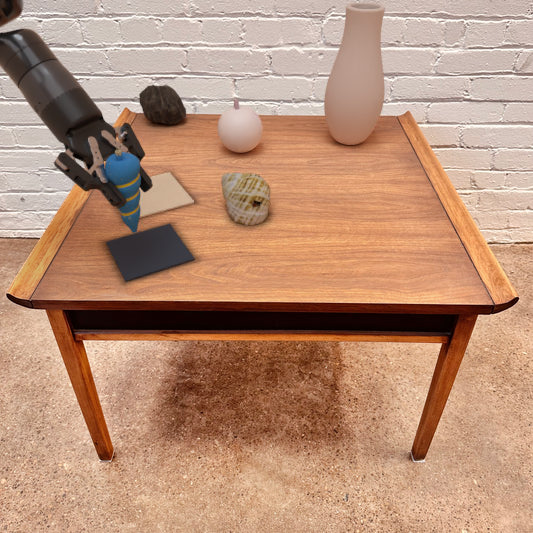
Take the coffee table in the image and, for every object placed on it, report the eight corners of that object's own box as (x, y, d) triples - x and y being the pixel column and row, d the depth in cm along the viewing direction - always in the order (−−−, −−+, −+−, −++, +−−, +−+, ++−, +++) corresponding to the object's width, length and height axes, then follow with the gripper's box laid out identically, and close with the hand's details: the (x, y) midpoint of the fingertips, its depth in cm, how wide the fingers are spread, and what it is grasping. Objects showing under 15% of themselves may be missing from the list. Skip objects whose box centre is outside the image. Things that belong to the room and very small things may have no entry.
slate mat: (125, 282, 77) (125, 280, 77) (106, 243, 85) (105, 241, 85) (194, 260, 82) (194, 258, 81) (170, 225, 90) (169, 223, 90)
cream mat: (125, 221, 90) (125, 220, 90) (106, 188, 100) (105, 187, 100) (194, 203, 96) (194, 201, 96) (169, 173, 105) (169, 171, 105)
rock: (189, 124, 124) (179, 84, 118) (146, 133, 123) (134, 94, 117) (187, 113, 132) (177, 76, 126) (146, 122, 131) (135, 84, 126)
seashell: (265, 227, 88) (240, 180, 84) (226, 235, 94) (201, 191, 89) (287, 199, 95) (265, 154, 90) (249, 207, 101) (227, 165, 96)
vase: (374, 130, 124) (395, 0, 105) (378, 154, 113) (402, 14, 94) (321, 127, 125) (332, -2, 106) (320, 151, 114) (332, 11, 95)
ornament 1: (154, 225, 79) (141, 139, 70) (145, 243, 75) (130, 155, 66) (123, 223, 80) (106, 137, 70) (113, 240, 76) (93, 152, 66)
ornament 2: (211, 147, 115) (207, 98, 108) (246, 137, 120) (245, 89, 112) (234, 164, 109) (233, 112, 101) (270, 152, 114) (271, 102, 106)
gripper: (25, 103, 62) (111, 208, 65) (107, 73, 72) (178, 167, 74) (12, 132, 67) (91, 229, 70) (89, 102, 77) (156, 187, 80)
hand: (136, 196), depth 72 cm, fingers closed on ornament 1, 5 cm apart
